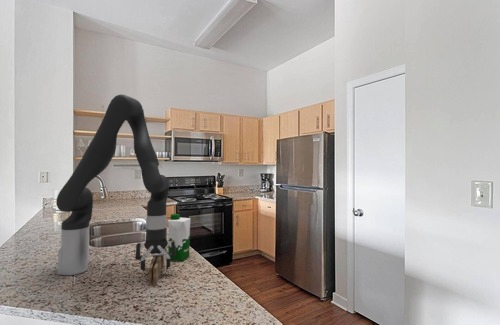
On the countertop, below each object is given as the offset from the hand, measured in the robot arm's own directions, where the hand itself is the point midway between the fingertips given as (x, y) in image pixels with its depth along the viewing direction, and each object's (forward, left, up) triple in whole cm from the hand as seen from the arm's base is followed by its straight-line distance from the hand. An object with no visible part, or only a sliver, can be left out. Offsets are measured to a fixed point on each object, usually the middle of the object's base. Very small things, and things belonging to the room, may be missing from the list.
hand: (155, 269), depth 98 cm
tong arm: (0, -1, -2) cm, 2 cm away
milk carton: (+8, +18, -3) cm, 20 cm away
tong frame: (0, +1, -3) cm, 3 cm away
